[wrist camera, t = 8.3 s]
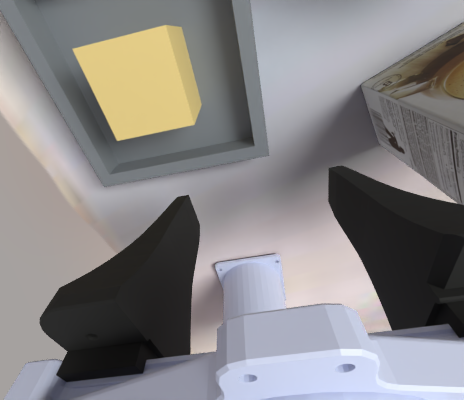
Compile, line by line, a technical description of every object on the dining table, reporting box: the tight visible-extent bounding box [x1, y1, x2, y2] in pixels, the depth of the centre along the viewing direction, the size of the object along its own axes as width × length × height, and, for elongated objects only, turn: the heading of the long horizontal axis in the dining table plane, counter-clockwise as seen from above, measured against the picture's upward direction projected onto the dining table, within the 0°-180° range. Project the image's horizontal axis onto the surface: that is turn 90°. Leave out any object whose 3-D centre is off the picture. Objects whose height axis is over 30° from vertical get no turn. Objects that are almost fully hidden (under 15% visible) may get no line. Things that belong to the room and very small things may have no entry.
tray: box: [0, 0, 269, 187], centre depth 17 cm, size 14×14×3 cm
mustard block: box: [72, 25, 202, 141], centre depth 16 cm, size 5×5×5 cm
